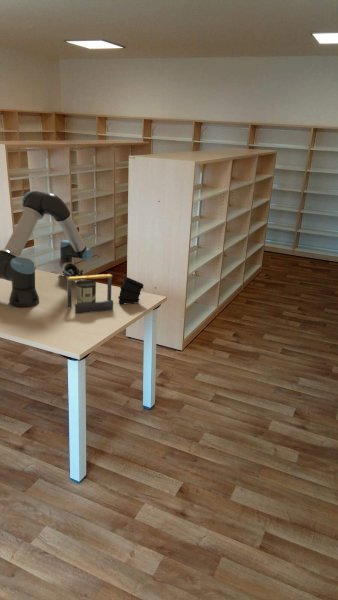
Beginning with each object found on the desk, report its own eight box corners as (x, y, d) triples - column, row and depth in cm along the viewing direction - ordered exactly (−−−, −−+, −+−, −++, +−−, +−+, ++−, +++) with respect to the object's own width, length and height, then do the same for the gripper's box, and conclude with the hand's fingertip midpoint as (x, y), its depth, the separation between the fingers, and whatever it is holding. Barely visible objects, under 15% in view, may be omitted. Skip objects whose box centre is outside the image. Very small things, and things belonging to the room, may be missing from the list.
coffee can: (88, 302, 239) (88, 278, 234) (99, 308, 232) (100, 283, 227) (72, 306, 232) (72, 281, 227) (83, 312, 225) (83, 287, 220)
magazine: (113, 300, 241) (125, 276, 239) (132, 307, 248) (144, 284, 245) (115, 302, 238) (127, 278, 235) (135, 310, 244) (147, 286, 242)
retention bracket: (72, 314, 222) (72, 283, 217) (67, 306, 232) (66, 276, 226) (116, 309, 233) (117, 280, 227) (109, 302, 242) (110, 273, 236)
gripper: (80, 274, 274) (90, 286, 254) (59, 275, 269) (68, 287, 249) (80, 262, 272) (90, 274, 252) (59, 263, 266) (68, 275, 246)
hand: (79, 280), depth 250 cm, fingers closed
